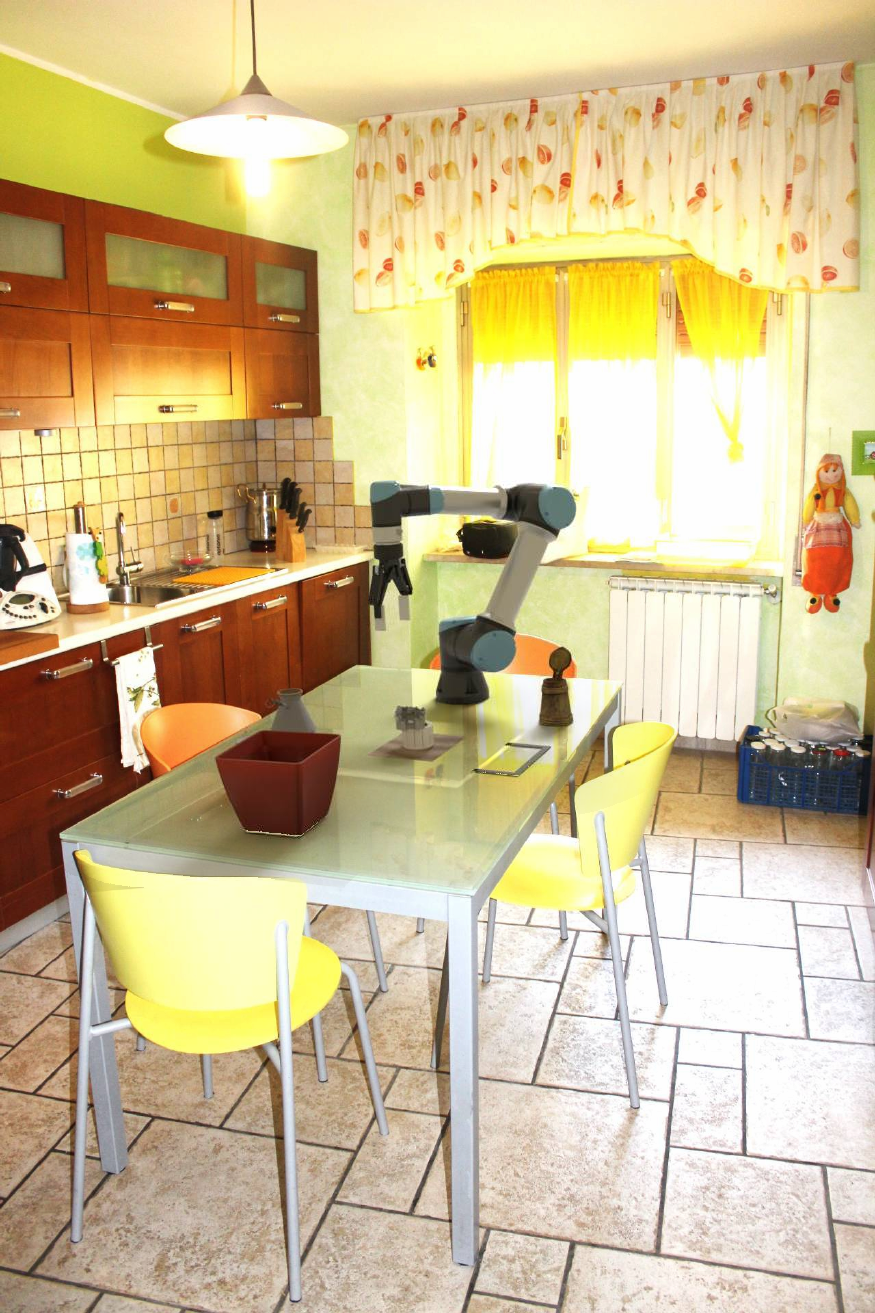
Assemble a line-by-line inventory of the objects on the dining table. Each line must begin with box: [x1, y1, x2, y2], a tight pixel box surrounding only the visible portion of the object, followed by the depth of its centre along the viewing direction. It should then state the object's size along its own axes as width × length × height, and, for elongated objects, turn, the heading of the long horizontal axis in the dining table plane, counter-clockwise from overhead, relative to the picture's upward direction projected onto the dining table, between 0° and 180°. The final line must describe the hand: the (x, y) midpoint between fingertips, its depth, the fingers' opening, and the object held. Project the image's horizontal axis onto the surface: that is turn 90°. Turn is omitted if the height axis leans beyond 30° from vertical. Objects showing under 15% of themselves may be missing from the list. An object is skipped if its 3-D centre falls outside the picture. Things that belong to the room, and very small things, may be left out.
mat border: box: [472, 741, 552, 776], centre depth 259 cm, size 22×19×1 cm
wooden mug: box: [538, 645, 574, 727], centre depth 286 cm, size 9×14×18 cm, turn 160°
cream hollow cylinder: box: [401, 720, 434, 750], centre depth 267 cm, size 8×8×5 cm
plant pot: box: [214, 729, 342, 835], centre depth 222 cm, size 19×19×17 cm
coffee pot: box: [264, 687, 317, 733], centre depth 275 cm, size 21×12×15 cm, turn 169°
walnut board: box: [367, 733, 467, 762], centre depth 268 cm, size 20×17×1 cm
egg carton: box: [393, 705, 427, 732], centre depth 266 cm, size 11×8×4 cm
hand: (392, 625), depth 284 cm, fingers open, 13 cm apart
